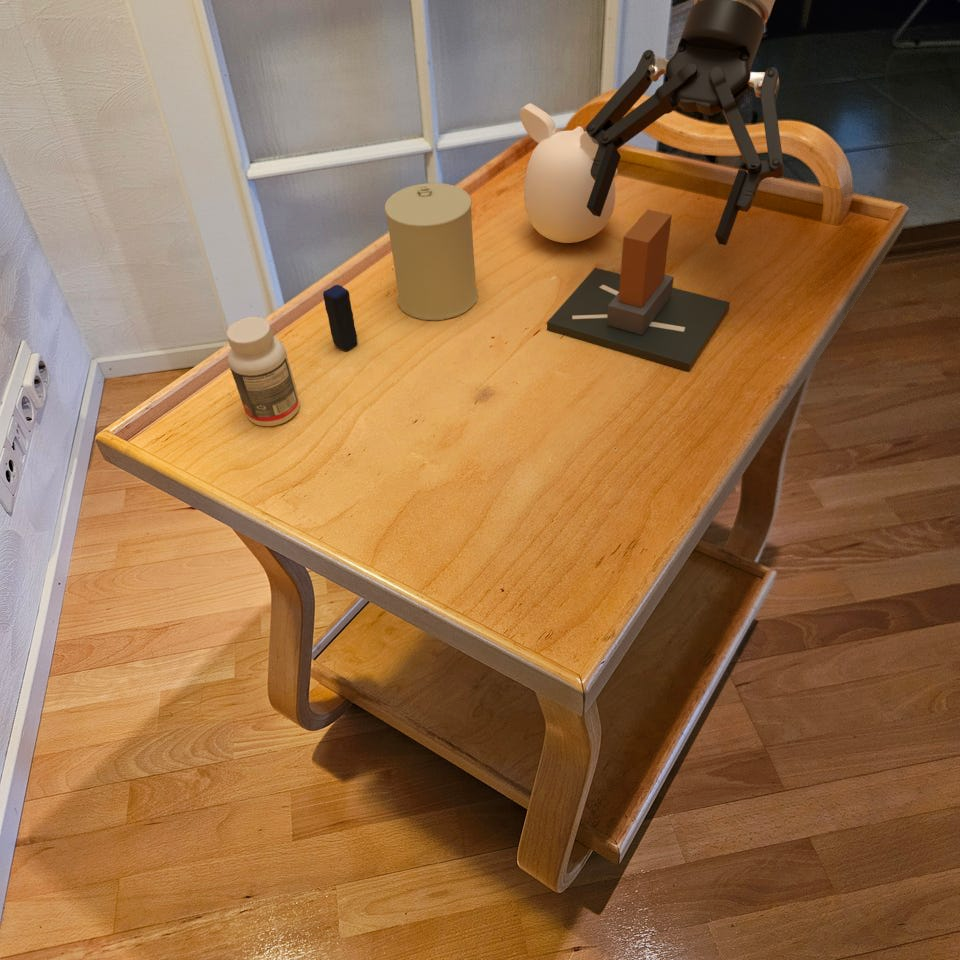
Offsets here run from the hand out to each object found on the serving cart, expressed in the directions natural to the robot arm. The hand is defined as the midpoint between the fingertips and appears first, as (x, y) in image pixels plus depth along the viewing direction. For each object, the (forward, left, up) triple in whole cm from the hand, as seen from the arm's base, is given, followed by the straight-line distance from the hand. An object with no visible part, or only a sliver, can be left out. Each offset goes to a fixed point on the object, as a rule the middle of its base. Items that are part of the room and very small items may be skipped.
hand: (654, 226), depth 83 cm
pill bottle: (+26, +32, -10) cm, 42 cm away
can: (+22, +8, -10) cm, 26 cm away
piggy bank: (+15, -11, -10) cm, 21 cm away
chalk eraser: (0, +2, -9) cm, 9 cm away
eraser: (+26, +20, -10) cm, 34 cm away
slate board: (0, +2, -10) cm, 10 cm away
